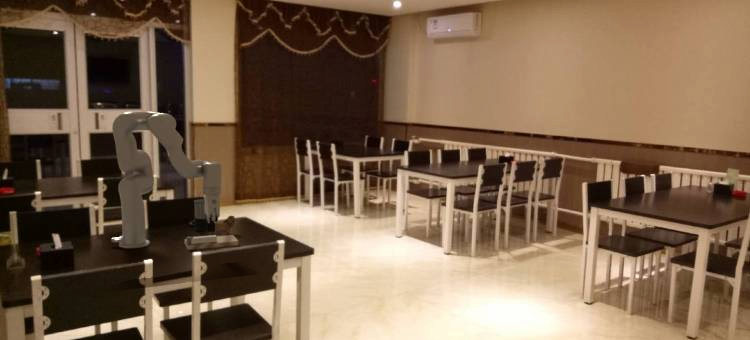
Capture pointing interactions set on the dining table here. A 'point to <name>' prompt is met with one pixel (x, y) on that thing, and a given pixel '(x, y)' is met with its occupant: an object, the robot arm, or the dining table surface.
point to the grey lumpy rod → (201, 239)
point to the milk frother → (200, 216)
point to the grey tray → (214, 243)
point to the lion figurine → (224, 225)
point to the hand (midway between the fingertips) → (210, 231)
